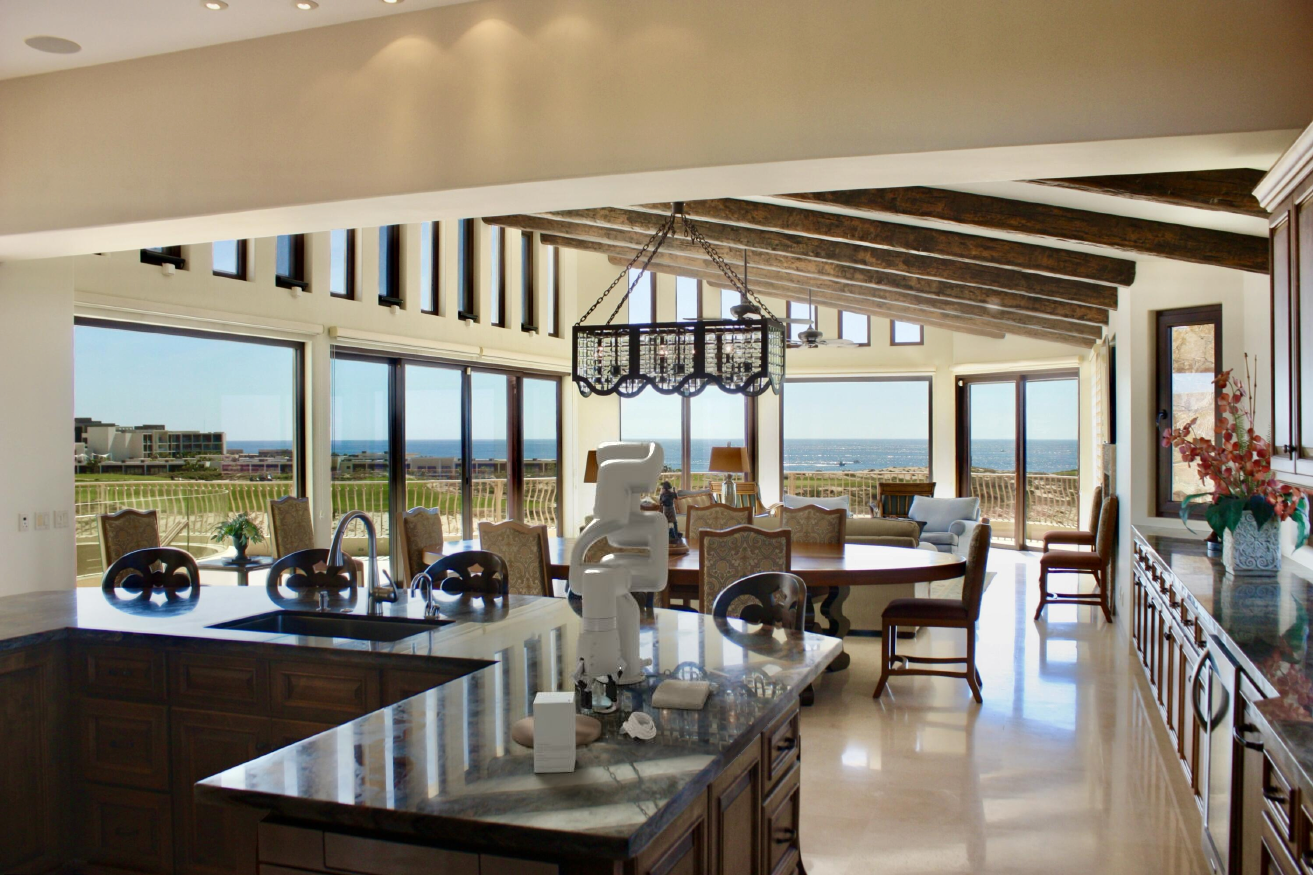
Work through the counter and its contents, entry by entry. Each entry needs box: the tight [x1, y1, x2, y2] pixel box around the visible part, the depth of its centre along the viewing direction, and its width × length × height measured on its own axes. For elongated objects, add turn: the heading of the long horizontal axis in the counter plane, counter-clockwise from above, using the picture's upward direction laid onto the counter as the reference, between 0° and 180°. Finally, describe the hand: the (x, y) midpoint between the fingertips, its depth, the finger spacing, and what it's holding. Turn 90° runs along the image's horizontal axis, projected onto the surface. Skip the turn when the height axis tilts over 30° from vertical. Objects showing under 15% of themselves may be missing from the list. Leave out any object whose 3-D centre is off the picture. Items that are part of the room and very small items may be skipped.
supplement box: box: [532, 691, 577, 774], centre depth 161 cm, size 7×7×13 cm
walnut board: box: [511, 713, 602, 748], centre depth 179 cm, size 18×18×2 cm
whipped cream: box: [618, 711, 657, 740], centre depth 179 cm, size 8×7×5 cm
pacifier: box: [592, 681, 617, 714], centre depth 196 cm, size 7×6×6 cm
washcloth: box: [651, 678, 712, 710], centre depth 205 cm, size 12×18×3 cm, turn 170°
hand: (598, 703), depth 196 cm, fingers closed on pacifier, 6 cm apart
